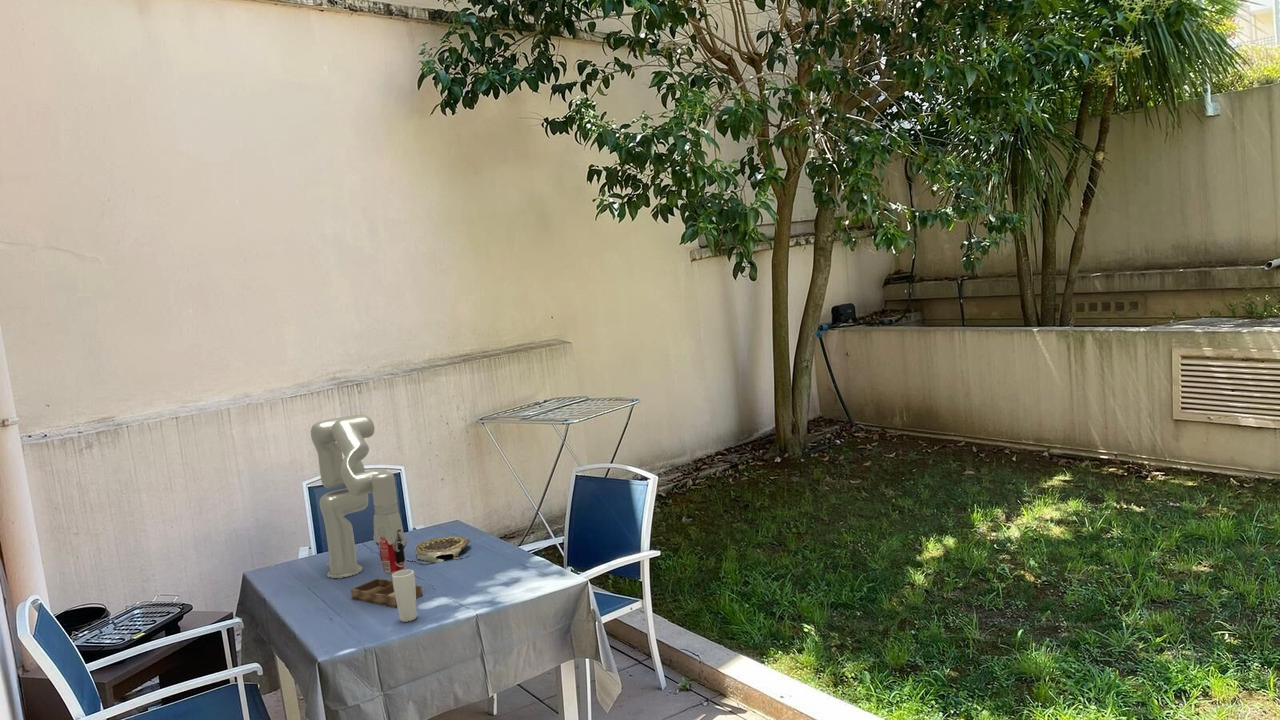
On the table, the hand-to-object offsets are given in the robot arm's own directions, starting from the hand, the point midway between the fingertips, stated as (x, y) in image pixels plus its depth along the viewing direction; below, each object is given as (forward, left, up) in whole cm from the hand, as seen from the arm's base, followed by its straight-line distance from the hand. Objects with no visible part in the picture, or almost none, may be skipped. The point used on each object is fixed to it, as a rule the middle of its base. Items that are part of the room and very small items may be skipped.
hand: (392, 560), depth 288 cm
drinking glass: (+18, -11, -14) cm, 25 cm away
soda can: (0, 0, -4) cm, 4 cm away
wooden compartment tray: (-6, 0, -13) cm, 15 cm away
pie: (-24, +43, -14) cm, 51 cm away
